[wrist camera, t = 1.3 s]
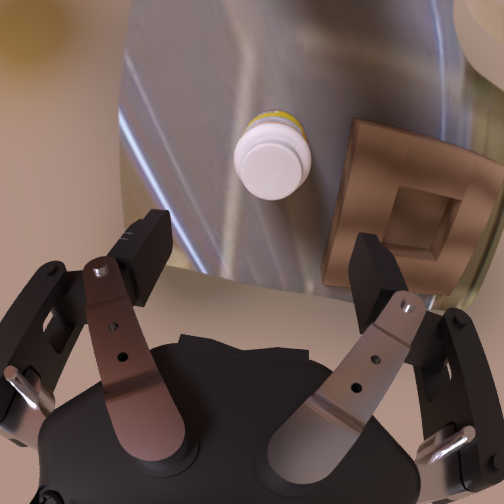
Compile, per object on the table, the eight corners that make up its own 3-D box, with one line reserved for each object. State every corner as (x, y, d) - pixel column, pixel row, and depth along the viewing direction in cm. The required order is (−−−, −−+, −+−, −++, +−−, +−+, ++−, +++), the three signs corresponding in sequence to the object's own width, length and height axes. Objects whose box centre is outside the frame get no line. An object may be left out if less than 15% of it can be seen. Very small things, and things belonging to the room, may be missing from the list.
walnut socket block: (352, 117, 24) (360, 123, 22) (492, 159, 23) (506, 169, 21) (320, 267, 35) (322, 284, 33) (442, 280, 34) (449, 295, 32)
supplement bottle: (286, 172, 29) (285, 225, 20) (236, 146, 27) (213, 188, 19) (316, 127, 25) (331, 160, 17) (263, 97, 24) (252, 115, 16)
